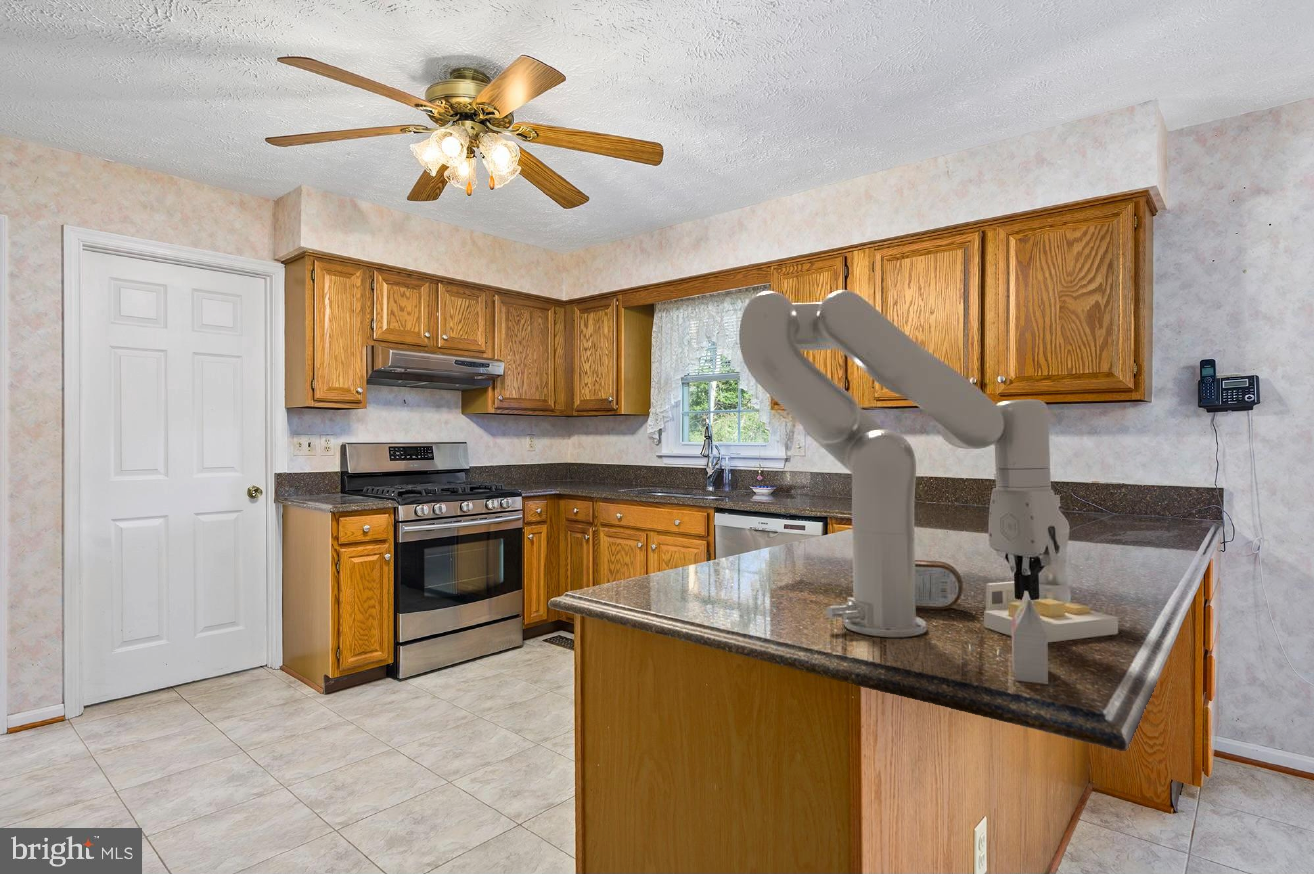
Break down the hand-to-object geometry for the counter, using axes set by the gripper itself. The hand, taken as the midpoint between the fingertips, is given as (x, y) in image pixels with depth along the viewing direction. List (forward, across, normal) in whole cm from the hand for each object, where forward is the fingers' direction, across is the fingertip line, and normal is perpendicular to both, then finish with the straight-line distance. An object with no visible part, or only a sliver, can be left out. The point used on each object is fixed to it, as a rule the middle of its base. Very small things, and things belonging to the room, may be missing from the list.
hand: (1027, 598), depth 109 cm
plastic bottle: (+6, -10, +15) cm, 19 cm away
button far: (+5, 0, +10) cm, 11 cm away
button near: (+4, 0, 0) cm, 4 cm away
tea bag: (+6, +15, -14) cm, 21 cm away
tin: (+5, -20, -4) cm, 21 cm away
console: (+5, 0, +4) cm, 7 cm away
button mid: (+4, 0, +5) cm, 6 cm away
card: (+5, -8, +4) cm, 11 cm away
